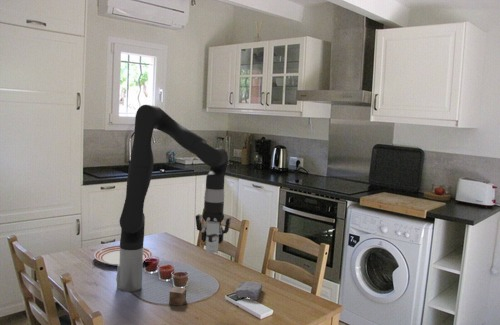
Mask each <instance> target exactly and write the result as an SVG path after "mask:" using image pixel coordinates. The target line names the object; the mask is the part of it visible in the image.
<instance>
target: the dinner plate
mask: <svg viewBox="0 0 500 325" xmlns="http://www.w3.org/2000/svg"><path fill="white" fill-rule="evenodd" d="M93 256H94V259H95V260H96V261H99V262H101V263H102V264H105V265H110V266H114V267H117V266H118V265H119V264H120V244H117V245H110V246H106V247H102V248H99V249H97V250H96V251H95V252H94V254H93ZM153 257H154V252H153V251H152V250H150V249H149V248H147V247H144V246H143V263H144V259H145V258H151V259H152V258H153Z"/></svg>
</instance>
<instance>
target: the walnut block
mask: <svg viewBox="0 0 500 325" xmlns="http://www.w3.org/2000/svg"><path fill="white" fill-rule="evenodd" d="M186 301H187V287H186V288H185V287H180V286H173V287H172V289H170V290H169V302H168V303H169V305H174V306H175V305H176V306H179V307H180V306H183V305H184V304H185V303H186Z"/></svg>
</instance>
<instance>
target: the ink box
mask: <svg viewBox="0 0 500 325" xmlns="http://www.w3.org/2000/svg"><path fill="white" fill-rule="evenodd" d="M208 253H209V254H219V222H214V221H207V229H206V241H205V254H208Z"/></svg>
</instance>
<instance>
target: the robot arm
mask: <svg viewBox="0 0 500 325" xmlns="http://www.w3.org/2000/svg"><path fill="white" fill-rule="evenodd" d="M134 118H135V119H134V130H133V132H134V134H133V143H132V147H131V148H132V149H131V154H130V160H129V165H128V171H127V179H126V190H125V191H126V193H125V198H124V199H125V200H124V204H123V208H122V210H121V214H120V217H119V225H120V228H121V231H120V232H121V233H120V239H119V245H120V264H119V265H118V266H116V268H117V271H116V289H118V290H120V291H121V292H128V293H129V292H137V291H140V290H141V289H142V288H143V268H144V267H143V265H144V264H143V263H144V262H143V247H144V241H145V240H144V239H145V225H146V224H145V221H146V220H145V213H144V207H145V206H144V205H145V200H146V196H147V193H148V190H149V188H150V185H151V184H150V183H151V180H152V177H153V176H152V175H153V171H154V153H153V149H152V139H153V132H154V129H155V130H158V131H160V132H162V133H165V135H168V136H169V137H170V138H172V139H173V140H174V142H176V143H177V145H180V146H181V147H182V148H184V149H185V150H187V151H188V152H190V153H191V154H193V155H195V156H196V157H197V158H198V159H199V160H200V161H201V162H203V163H204V164H205V165H207V166H208V167H209V172H208V173H207V175H206V179H205V191H204V197H203V199H204V202H203V204H204V205H203V213H202V214H200V213H197V214H196V215H195V225H196V231H199V232H201V237H200V238H201V241H202V243H206V229H207V221H214V222H219V243H218V245H219V244H222V243H223V241H224V234H227V233H228V232H229V230H230V226H231V221H232V217H230V216H229V217H227V216H225V215H224V206H225V205H224V204H225V176H226V172H227V168H228V164H229V163H228V162H229V161H228V160H229V159H228V158H229V155H228V152H227V150H226V149H224V148H222V147H216V148H215V147H213V146H212V145H210V144H208V142H207V140H206V139H204V138H203V137H201V136H200V135H198V134H197V133H195V132H193V131H192V130H190V129H188V128H187V127H185V126H183V125H181V124H180V123H179V122H177V121H176V120H174V118H172V117H171V116H170V115H169V114H168V113H166V112H165V111H164V110H163V109H162V108H161V107H159V106H157V105H154V104H153V105H151V104H142V105H140V106H139V107H138V109H137V111H136V113H135V117H134ZM202 220H204V224H203V226H202ZM223 221H224V223H225V226H224V228H223V224H222V222H223Z"/></svg>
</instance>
